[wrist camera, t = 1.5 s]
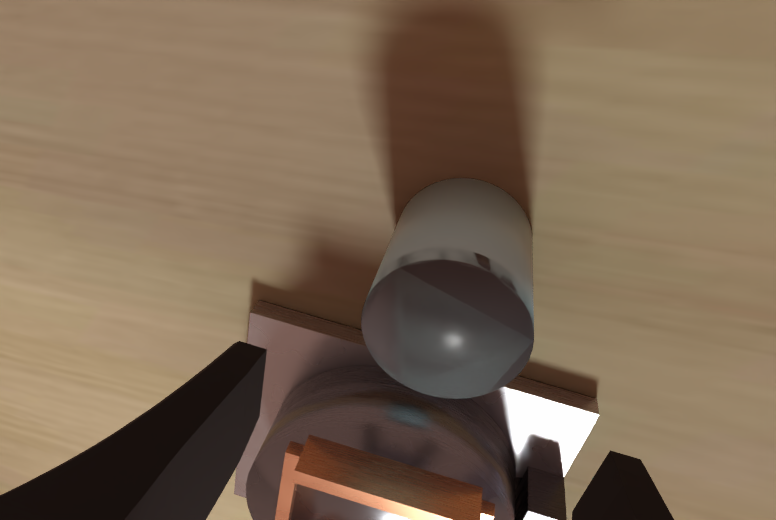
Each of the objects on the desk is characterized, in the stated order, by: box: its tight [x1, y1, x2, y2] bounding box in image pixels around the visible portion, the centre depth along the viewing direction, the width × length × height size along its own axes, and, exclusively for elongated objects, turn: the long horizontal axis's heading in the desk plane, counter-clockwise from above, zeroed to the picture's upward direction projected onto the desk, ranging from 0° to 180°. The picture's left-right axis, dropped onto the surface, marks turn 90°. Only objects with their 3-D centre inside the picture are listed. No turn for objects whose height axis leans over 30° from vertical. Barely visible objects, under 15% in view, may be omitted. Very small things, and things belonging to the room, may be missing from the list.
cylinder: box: [361, 178, 534, 399], centre depth 17 cm, size 4×4×5 cm
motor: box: [234, 300, 599, 520], centre depth 22 cm, size 13×11×5 cm
